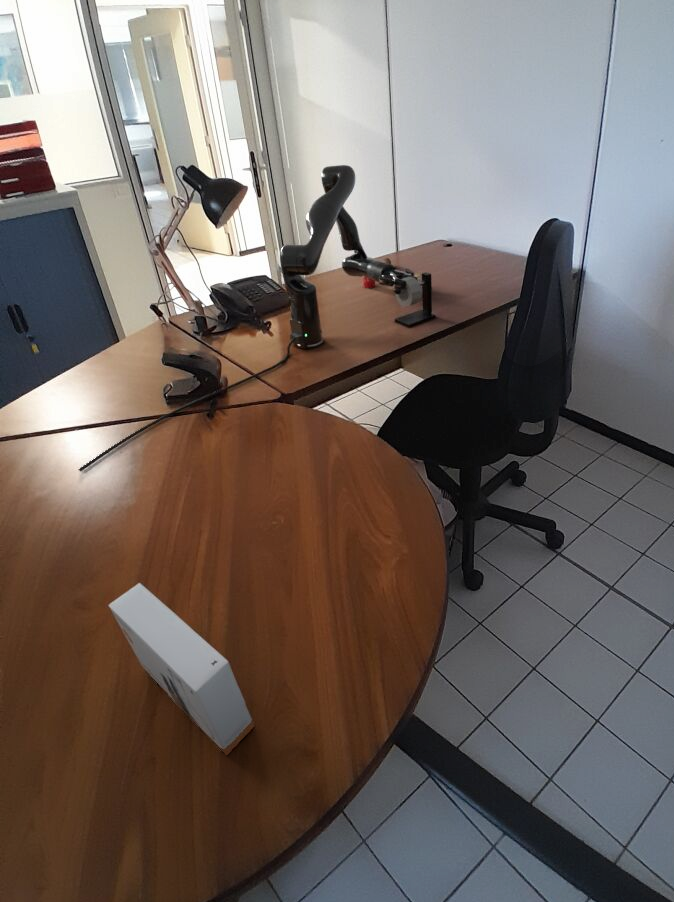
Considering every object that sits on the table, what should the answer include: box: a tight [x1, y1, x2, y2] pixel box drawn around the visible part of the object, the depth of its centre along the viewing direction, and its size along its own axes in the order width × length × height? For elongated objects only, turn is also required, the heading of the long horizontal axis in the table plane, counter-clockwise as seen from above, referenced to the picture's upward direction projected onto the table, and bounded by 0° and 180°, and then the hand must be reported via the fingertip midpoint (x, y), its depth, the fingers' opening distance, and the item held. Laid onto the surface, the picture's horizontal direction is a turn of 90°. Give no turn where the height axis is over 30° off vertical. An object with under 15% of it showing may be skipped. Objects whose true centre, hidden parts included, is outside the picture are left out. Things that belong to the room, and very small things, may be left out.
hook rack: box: [393, 272, 437, 329], centre depth 197 cm, size 16×8×16 cm, turn 130°
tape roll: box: [393, 277, 422, 308], centre depth 194 cm, size 5×10×10 cm, turn 40°
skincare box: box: [108, 582, 253, 749], centre depth 75 cm, size 21×5×16 cm, turn 52°
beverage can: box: [362, 256, 376, 289], centre depth 234 cm, size 5×5×12 cm
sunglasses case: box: [381, 257, 392, 265], centre depth 254 cm, size 18×7×7 cm
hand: (411, 282), depth 191 cm, fingers closed on tape roll, 4 cm apart
